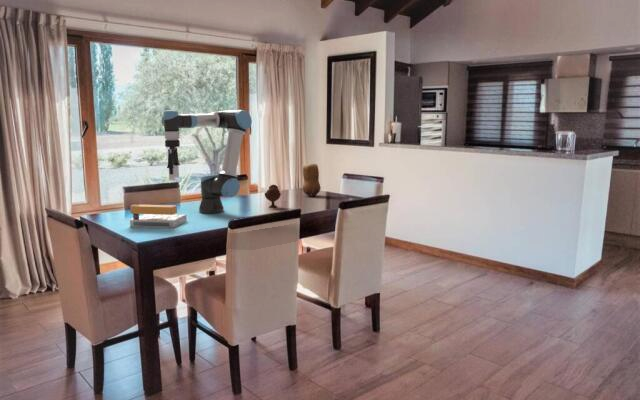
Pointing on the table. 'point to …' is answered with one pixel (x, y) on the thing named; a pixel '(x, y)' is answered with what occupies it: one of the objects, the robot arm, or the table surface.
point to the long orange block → (154, 209)
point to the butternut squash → (311, 179)
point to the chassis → (157, 220)
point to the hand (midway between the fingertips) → (174, 178)
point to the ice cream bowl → (273, 195)
